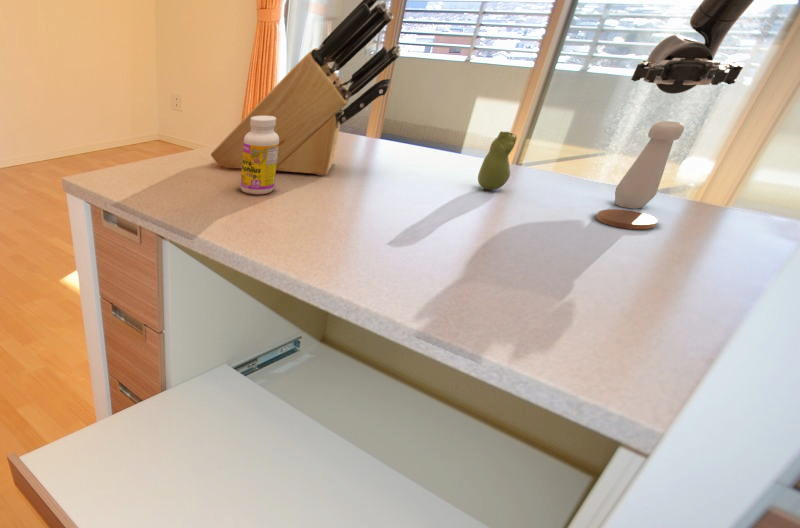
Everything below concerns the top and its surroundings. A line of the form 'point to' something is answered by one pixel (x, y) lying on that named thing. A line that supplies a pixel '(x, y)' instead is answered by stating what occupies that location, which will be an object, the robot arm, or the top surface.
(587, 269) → the top surface
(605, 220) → the coaster
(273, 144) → the supplement bottle
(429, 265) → the top surface
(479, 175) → the pear
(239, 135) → the knife block
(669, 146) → the salt shaker
